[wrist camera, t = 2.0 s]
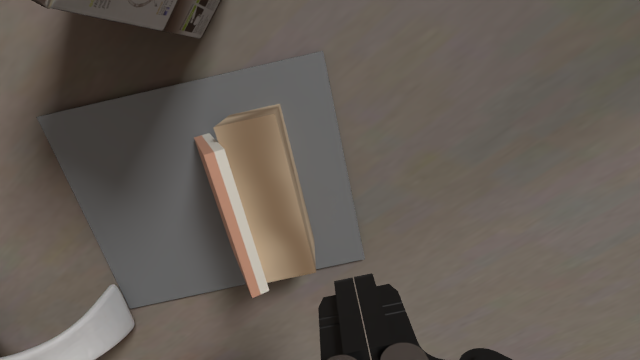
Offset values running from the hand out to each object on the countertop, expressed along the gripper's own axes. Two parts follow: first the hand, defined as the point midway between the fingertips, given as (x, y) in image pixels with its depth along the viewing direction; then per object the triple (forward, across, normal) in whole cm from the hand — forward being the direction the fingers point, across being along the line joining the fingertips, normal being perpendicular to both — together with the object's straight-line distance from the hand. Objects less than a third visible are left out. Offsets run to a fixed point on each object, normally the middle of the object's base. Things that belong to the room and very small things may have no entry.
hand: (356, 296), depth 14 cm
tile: (+12, +8, 0) cm, 14 cm away
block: (+17, +5, 0) cm, 17 cm away
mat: (+17, +10, 0) cm, 19 cm away
